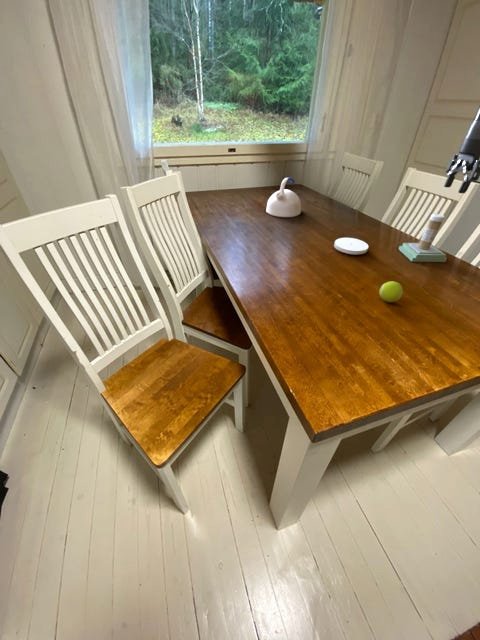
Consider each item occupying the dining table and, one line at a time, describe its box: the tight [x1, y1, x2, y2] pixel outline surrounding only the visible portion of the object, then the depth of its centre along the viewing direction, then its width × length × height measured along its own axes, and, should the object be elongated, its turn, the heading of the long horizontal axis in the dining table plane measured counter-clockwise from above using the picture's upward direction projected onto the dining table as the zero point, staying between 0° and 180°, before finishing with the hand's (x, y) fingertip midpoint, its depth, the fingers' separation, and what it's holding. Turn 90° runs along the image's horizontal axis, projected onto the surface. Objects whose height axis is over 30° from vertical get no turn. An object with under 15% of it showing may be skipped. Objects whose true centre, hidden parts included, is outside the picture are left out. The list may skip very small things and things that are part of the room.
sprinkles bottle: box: [418, 213, 446, 250], centre depth 110 cm, size 5×5×13 cm
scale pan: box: [408, 242, 442, 254], centre depth 115 cm, size 9×9×2 cm
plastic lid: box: [333, 237, 369, 255], centre depth 119 cm, size 14×14×2 cm
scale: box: [398, 242, 448, 263], centre depth 115 cm, size 14×12×3 cm
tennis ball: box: [378, 280, 404, 303], centre depth 88 cm, size 7×7×7 cm
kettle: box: [265, 177, 302, 218], centre depth 153 cm, size 20×21×18 cm
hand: (453, 189), depth 100 cm, fingers open, 8 cm apart
